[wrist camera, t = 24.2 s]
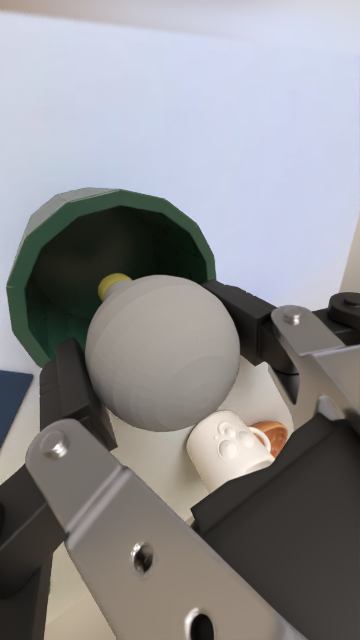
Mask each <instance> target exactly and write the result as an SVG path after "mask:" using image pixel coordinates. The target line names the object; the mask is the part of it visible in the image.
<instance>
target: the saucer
mask: <svg viewBox="0 0 360 640" xmlns="http://www.w3.org/2000/svg"><path fill="white" fill-rule="evenodd" d="M250 427H254V428H257V429H259V430H261V431H262V432H263V433H264V434H265V435H266V436H267V438H268V439H269V441H270V445H271V450H270V453H271V455H272V456H273V457H274V459H275V458H276V457H277V455H278V454H279V452H280V451H281V449H282V448H283V446H284V444H285V442H286V439H287V436H288V431H287V428H286V427H285V426H284V425H282V424H281V423H279V422H260V423H257V424H254V425H252V426H250ZM253 434H254V435H255V436H256V437H257V438H258V440H259V441H260V442H261V443H262V444H263V445H264V446H265V444H264V441H263V439H262V438H261V437H260V436H258V435H257V434H255V433H253Z"/></svg>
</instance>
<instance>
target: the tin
mask: <svg viewBox="0 0 360 640" xmlns="http://www.w3.org/2000/svg"><path fill="white" fill-rule="evenodd" d="M114 273H121V274H124V275H126V276H128V277H129V278H131V279H132V280H136V279H139V278H142V277H146V276H152V275H168V276H174V277H179V278H184V279H188V280H191V281H193V282H195V283H197V284H199V285H200V284H203V283H205V282H207V281H210V280H212V279H214V280H216V271H215V260H214V255H213V253H212V251H211V249H210V247H209V245H208V243H207V241H206V239H205V237H204V235H203V234H202V232H201V230H200V228H199V226H198V225H197V223H196V222H194V221H193V220H192V219H191V218H189V217H188V216H187V215H185V214H184V213H183V212H182V211H180V210H179V209H178V208H176V207H175V206H174V205H173V204H171V203H170V202H169V201H167V200H165V199H164V198H159V197H155V196H150V195H145V194H141V193H136V192H132V191H127V190H122V189H108V188H83V189H78V190H73V191H69V192H66V193H61V194H57V195H55V196H54V197H53V198H51V199H50V200H49V201H48V202H46V203H45V204H44V205H42V206H41V207H40V208H39V209H38V210H37V211H36V212H35V213H34V214H32V215H31V217H30V219H29V222H28V224H27V227H26V229H25V232H24V235H23V237H22V240H21V242H20V245H19V248H18V251H17V254H16V257H15V260H14V263H13V266H12V269H11V272H10V275H9V278H8V281H7V286H6V290H7V297H8V304H9V312H10V319H11V326H12V331H13V333H14V335H15V336H16V337H17V339H18V340H19V341H20V343H21V344H22V346H23V347H24V348H25V350H26V351H27V352H28V354H29V355H30V356H31V358H32V359H33V360H34V362H35V363H36V364H37V365H38V366H39V367H41V368H43V367H44V365H45V363H47V362H50V361H52V360H54V359H56V356H55V345H56V344H58V343H60V342H63V341H65V340H68V339H70V338H72V337H75V338H76V339H77V341H78V342H79V344H80V346H81V348H82V350H83V351H84V353H85V349H86V340H87V333H88V329H89V326H90V323H91V321H92V319H93V317H94V315H95V313H96V312H97V310H98V308H99V307H100V306H101V305H102V303H103V302H102V301H101V299H100V297H99V295H98V287H99V284H100V282H101V281H102V280H103V279H104V278H105V277H106V276H108V275H110V274H114Z"/></svg>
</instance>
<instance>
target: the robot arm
mask: <svg viewBox="0 0 360 640" xmlns="http://www.w3.org/2000/svg"><path fill="white" fill-rule="evenodd" d="M200 286H202V287H203V288H205V289H206V290H208V291H209V292H211V293H212V294H213V295H215V296H216V297H217V298H218V299H219V300H220V301H221V302H222V304H223V305H224V307H225V308H226V310H227V311H228V313H229V315H230V316H231V318H232V320H233V322H234V325H235V328H236V330H237V333H238V337H239V342H240V354H241V355H242V356H243V357H244V358H246V359H247V360H248V361H249V362H250V363H252V364H253V365H254V366H257V365H259V364H260V363H262V362H264V361H265V362H267V363H268V372H269V374H270V376H271V378H272V379H273V381H274V383H275V385H276V387H277V389H278V391H279V392H280V394H281V396H282V398H283V400H284V402H285V404H286V406H287V407H288V409H289V411H290V414H291V417H292V422H293V427H294V432H293V433H292V435H291V436H290V438H289V439H288V441H287V442H286V444H285V445H284V447H283V448H282V450H281V451H280V453H279V454H278V456H277V457H276V459H275V460H274V462H273V463H272V464H271V465H270V466H268V467H266V468H263V469H260V470H257V471H254V472H251V473H249V474H246V475H243V476H240V477H237V478H234V479H231V480H229V481H227V482H225V483H224V484H223V485H221V486H220V487H219V488H217V489H216V490H215V491H213V492H212V493H211V494H209V495H208V496H206V497H205V498H204V499H202V500H201V501H200V502H198V503H197V504H196V505H194V506H193V507H192V508H190V509H191V512H192V514H193V516H194V519H195V520H194V522H193V523H192V524H191V526H189V525H188V524H186V523H185V522H184V521H183V520H182V519H181V518H180V517H179V516H178V515H177V514H176V513H175V512H174V511H173V510H172V509H171V508H170V507H169V506H168V505H167V504H166V503H165V502H164V501H163V500H162V499H161V498H160V497H159V496H158V495H157V494H156V493H155V492H154V491H153V490H152V489H151V488H150V487H149V486H148V485H147V484H146V483H145V482H144V481H143V480H142V479H141V478H139V477H138V476H137V475H136V474H135V473H134V472H133V471H132V470H131V469H130V468H128V467H127V466H123V465H122V464H121V463H120V462H119V461H118V460H117V459H116V458H115V457H114V456H113V455H112V454H111V453H110V451H111V450H113V449H115V448H117V447H118V445H117V442H116V439H115V436H114V432H113V429H112V426H111V422H110V419H109V416H108V413H107V409H106V406H105V405H104V404H103V403H102V402H101V401H100V399H99V398H98V397H97V395H96V393H95V392H94V389H93V387H92V384H91V381H90V378H89V375H88V372H87V368H86V363H85V353H84V351H83V350H82V348H81V346H80V344H79V342H78V341H77V339H76V338H75V337H72V338H70V339H68V340H65V341H63V342H60V343H58V344H56V345H55V356H56V359H54V360H52V361H50V362H47V363H45V365H44V367H43V369H42V371H41V373H40V396H41V397H40V433H39V434H38V435H37V436H36V437H35V438H34V440H33V441H32V443H31V444H30V446H29V448H28V451H27V454H26V458H25V464H24V465H23V466H22V467H21V468H20V469H19V470H18V471H17V472H16V473H14V474H13V475H12V476H11V477H10V478H9V479H7V480H6V481H5V482H4V483H3V484H1V485H0V640H44V631H45V622H46V613H47V604H48V595H49V586H50V577H51V568H52V559H53V552H54V551H55V550H56V549H57V548H58V547H59V546H60V544H61V543H62V542H63V541H64V544H65V547H66V550H67V552H68V554H69V556H70V558H71V560H72V561H73V563H74V565H75V567H76V568H77V570H78V572H79V574H80V575H81V577H82V579H83V581H84V582H85V584H86V586H87V587H88V589H89V591H90V593H91V594H92V596H93V598H94V600H95V601H96V603H97V605H98V607H99V608H100V610H101V612H102V614H103V615H104V617H105V619H106V620H107V622H108V624H109V626H110V627H111V629H112V631H113V633H114V634H115V636H116V638H117V640H360V294H359V293H353V292H344V293H338V294H335V295H333V296H332V297H331V298H330V301H329V305H328V308H325V309H321V310H317V311H312V312H311V311H310V310H308V309H306V308H304V307H301V306H295V305H286V306H281V307H278V308H277V307H275V306H273V305H271V304H269V303H268V302H266V301H264V300H262V299H260V298H258V297H256V296H253V295H252V294H250V293H248V292H247V293H246V291H244V290H242V289H240V288H238V287H235V286H230V285H224V284H222V283H220V282H218V281H216V280H214V279H212V280H210V281H207V282H205V283H203V284H200Z"/></svg>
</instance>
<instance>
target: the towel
mask: <svg viewBox="0 0 360 640" xmlns="http://www.w3.org/2000/svg"><path fill="white" fill-rule="evenodd" d="M32 378H33V375H32V374H24V373H16V372H9V371H1V370H0V448H1V445H2V443H3V441H4V439H5V437H6V435H7V432H8V430H9V428H10V426H11V424H12V422H13V420H14V417H15V415H16V413H17V411H18V409H19V407H20V404H21V402H22V400H23V398H24V396H25V394H26V391H27V389H28V387H29V385H30V383H31V381H32Z"/></svg>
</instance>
